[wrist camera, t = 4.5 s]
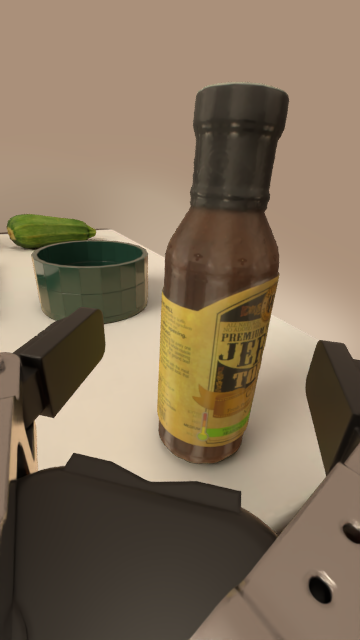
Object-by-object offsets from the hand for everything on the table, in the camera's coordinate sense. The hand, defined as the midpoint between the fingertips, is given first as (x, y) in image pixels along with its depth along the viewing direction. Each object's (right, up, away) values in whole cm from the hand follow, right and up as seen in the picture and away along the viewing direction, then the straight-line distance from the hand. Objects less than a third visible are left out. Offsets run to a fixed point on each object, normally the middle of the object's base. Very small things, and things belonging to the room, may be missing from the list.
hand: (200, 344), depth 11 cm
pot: (-13, +4, +30) cm, 33 cm away
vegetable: (-30, +19, +59) cm, 69 cm away
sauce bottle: (+1, -7, +10) cm, 13 cm away
